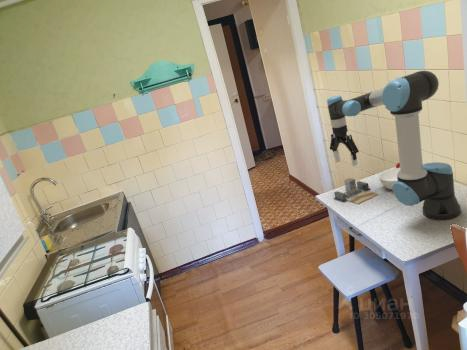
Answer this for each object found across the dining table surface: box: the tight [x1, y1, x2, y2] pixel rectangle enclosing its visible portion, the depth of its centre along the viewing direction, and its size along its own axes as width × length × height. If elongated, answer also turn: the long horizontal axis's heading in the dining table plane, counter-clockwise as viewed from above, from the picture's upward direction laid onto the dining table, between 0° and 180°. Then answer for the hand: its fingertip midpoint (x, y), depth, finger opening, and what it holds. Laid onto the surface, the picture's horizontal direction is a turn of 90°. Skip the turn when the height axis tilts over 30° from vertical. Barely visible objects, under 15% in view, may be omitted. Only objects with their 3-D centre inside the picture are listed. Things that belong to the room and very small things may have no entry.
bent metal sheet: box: [343, 177, 363, 200], centre depth 206 cm, size 4×10×9 cm, turn 114°
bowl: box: [378, 167, 400, 190], centre depth 201 cm, size 18×18×7 cm
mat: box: [347, 190, 379, 205], centre depth 200 cm, size 8×14×1 cm, turn 114°
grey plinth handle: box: [333, 180, 371, 203], centre depth 207 cm, size 8×19×4 cm, turn 114°
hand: (346, 163), depth 202 cm, fingers open, 13 cm apart
